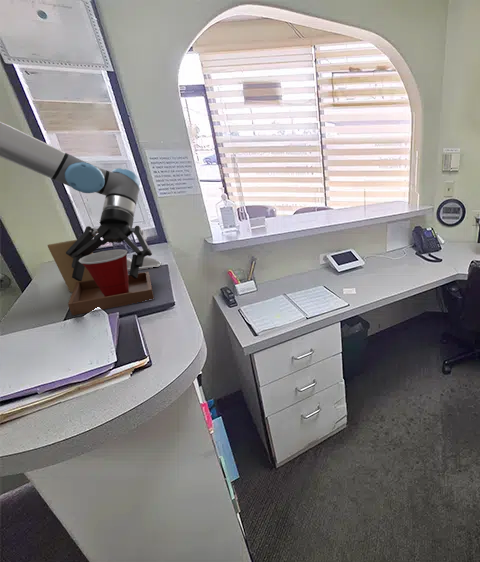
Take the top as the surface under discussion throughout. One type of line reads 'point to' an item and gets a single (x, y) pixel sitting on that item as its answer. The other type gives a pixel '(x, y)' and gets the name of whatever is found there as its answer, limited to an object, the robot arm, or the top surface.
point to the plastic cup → (108, 270)
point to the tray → (91, 296)
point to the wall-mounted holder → (145, 263)
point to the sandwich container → (66, 263)
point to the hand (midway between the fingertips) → (105, 278)
